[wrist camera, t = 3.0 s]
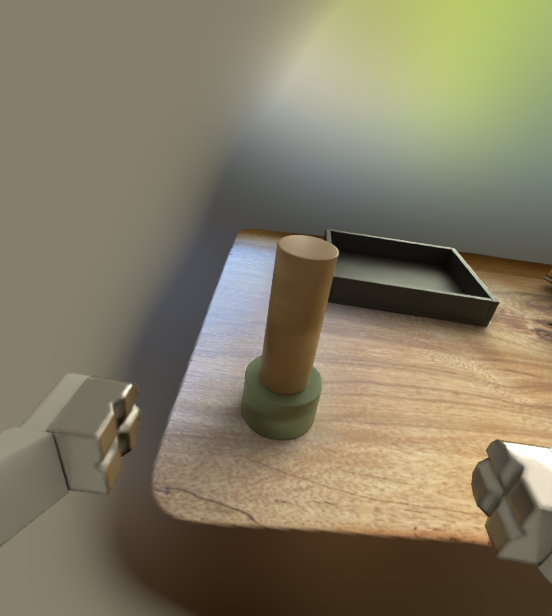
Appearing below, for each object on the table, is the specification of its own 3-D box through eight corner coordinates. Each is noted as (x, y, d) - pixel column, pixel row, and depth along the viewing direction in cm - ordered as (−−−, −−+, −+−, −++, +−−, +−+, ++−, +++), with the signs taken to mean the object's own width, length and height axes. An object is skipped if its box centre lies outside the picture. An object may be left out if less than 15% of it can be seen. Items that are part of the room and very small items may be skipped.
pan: (323, 301, 39) (329, 275, 38) (321, 249, 51) (325, 228, 50) (487, 326, 39) (499, 302, 37) (446, 268, 51) (454, 248, 49)
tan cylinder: (235, 433, 23) (253, 258, 17) (247, 379, 28) (265, 223, 21) (314, 445, 23) (361, 275, 17) (314, 389, 28) (352, 237, 21)
